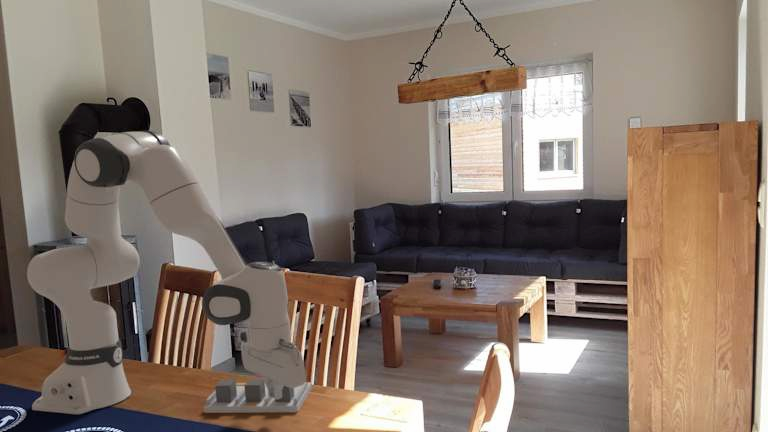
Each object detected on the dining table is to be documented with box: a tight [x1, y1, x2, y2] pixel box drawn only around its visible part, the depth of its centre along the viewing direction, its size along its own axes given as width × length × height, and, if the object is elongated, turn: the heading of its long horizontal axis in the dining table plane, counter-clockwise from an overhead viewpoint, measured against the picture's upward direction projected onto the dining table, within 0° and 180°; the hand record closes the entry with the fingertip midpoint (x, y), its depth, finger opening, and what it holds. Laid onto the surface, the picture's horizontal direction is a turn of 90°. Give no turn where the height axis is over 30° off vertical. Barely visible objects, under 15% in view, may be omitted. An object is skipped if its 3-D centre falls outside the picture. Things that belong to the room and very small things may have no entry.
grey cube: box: [275, 386, 294, 402], centre depth 140 cm, size 4×4×4 cm
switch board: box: [203, 381, 313, 414], centre depth 144 cm, size 22×14×3 cm, turn 84°
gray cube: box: [214, 379, 237, 402], centre depth 142 cm, size 4×4×4 cm
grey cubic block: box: [244, 378, 266, 402], centre depth 141 cm, size 4×4×4 cm
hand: (275, 397), depth 133 cm, fingers closed
